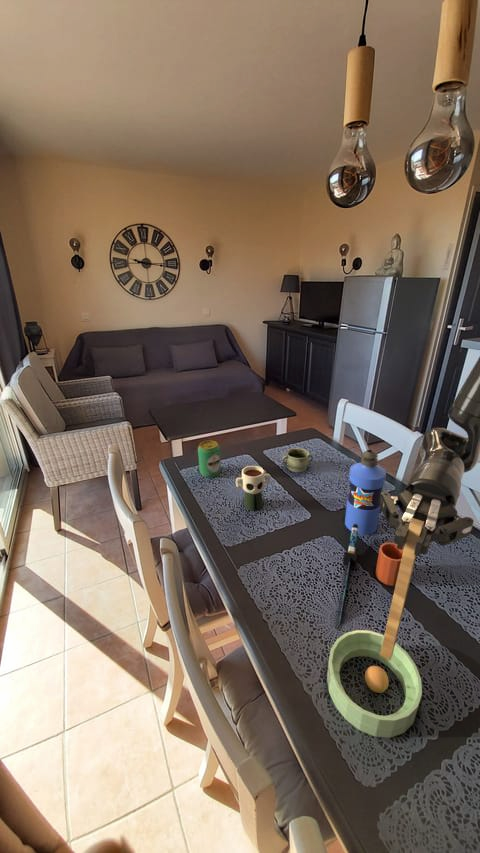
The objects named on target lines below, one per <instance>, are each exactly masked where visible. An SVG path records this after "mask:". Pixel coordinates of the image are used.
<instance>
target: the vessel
mask: <svg viewBox="0 0 480 853" xmlns="http://www.w3.org/2000/svg"><path fill="white" fill-rule="evenodd" d="M309 458H311V459H309ZM313 460H314V456H313V455H312V454H311V453H310V452H309V450H307V449H305V448H301V447H292V448H289V449H288V450H287V451H286V455H283V456H282V457H281V462H282V463H283V467H287V469H288V470H289V471H291V472H294V473H303V472H305V471H306V470H307V468H308V466H310V465H311V464H312V462H313Z"/></svg>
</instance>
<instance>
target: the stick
mask: <svg viewBox="0 0 480 853" xmlns="http://www.w3.org/2000/svg"><path fill="white" fill-rule="evenodd" d="M423 528H424V521H421V520H418V519H414V518H412V519H411V521H410V524H409V530H408V534H407V539H406V543H405V545H404V547H403V548H404V551H403V555H402V559H401V564H400V568H399V573H398V577H397V582H396V586H394V590H393V596H392V599H391V605H390V609H389V612H388V618H387V621H386V626H385V631H384V634H383V635H384V639H383V644H382V648H381V653H380V655H381V656H383V657H384V658H386V659H388V660H391V658H392V655H393V651H394V647H395V643H397V640H398V639H397V638H398V634H399V629H400V625H401V622H402V618H403V614H404V608H405V604H406V601H407V596H408V592H409V588H410V583H411V581H412V580H411V579H412V575H413V571H414V567H415V562H416V558H417V556H416V555H414V552H415V547H416V543H417V540H418V538H419V535H420V533H421V531H422V529H423Z"/></svg>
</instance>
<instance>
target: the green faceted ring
mask: <svg viewBox="0 0 480 853" xmlns="http://www.w3.org/2000/svg"><path fill="white" fill-rule="evenodd" d="M384 635H385V634H382V633H378V632H375V631H373V630H367V629H365V630H362V629H356V630H352V631H349V632H345V633H343V635H341V636H340V637H338V638H337V639H335V642H334V643H333V645H332V646H331V648H330V651H329V657H328V664H327V673H326V681H327V688H328V692H329V695H330V697H331V699H332V702H333V704H334V706H335V708H336V709H337V710H338V712H339V713H340V714H341V715H342V717H343V718H344V719H345V720H346V721H347V722H348V723H350V724H351V725H352V726H353V727H354V728H356V729H357V730H358V731H361V732H363V733H365V734H368V735H370V736H373V737H376V738H394V737H397V736H399V735H402V734H405V733H406V732H407V731H408V730H409V729H410V727H412V725H413V724H414V722H415V719H416V716H417V714H418V710H419V707H420V703H421V700H422V697H423V686H422V685H423V684H422V682H423V681H422V677H421V675H420V672H419V669H418V667H417V665H416V663H415V662H414V660H413V659H412V658H411V656H410V654H409V653H408V652H407V651H406V650H405V649H404V648H403V647H401V645H399V644H398V642H396V643H395V647H394V651H393V655H392V658H391V660H388V659H386V658H384V657H383V656H381V655H380V653H381V648H382V644H383V639H384ZM356 657H368V658H371V659H374V660H377V661H379V662H380V663H381V664H384V665H385V666H386V667H388V668H389V669H390V670H391V671H392V673H393V674H394V675H395V677H396V678H397V679H398V681H399V682H400V685H401V688H402V690H403V695H404V696H403V697H404V698H403V699H404V701H403V705H402V707H400V708H399V709H398V710H397V711H396V712H394V713H391V714H389V715H380V714H376V713H373V712H371V711H369V710H365V709H363V708H362V707H361V706H360V705H358V704H357V703H355V702H354V701H353V700H352V699H351V697H350V696H348V694H347V693H346V690H345V689H344V686H343V685H342V681H341V675H340V671H341V669H342V668H343V666H344V664H345V663H347V662H348V661H349V660H350V659H354V658H356Z"/></svg>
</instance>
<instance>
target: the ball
mask: <svg viewBox="0 0 480 853" xmlns="http://www.w3.org/2000/svg"><path fill="white" fill-rule="evenodd" d="M364 681H365V683H366V684H365V685H367V687H368V688H369V689H370V690H371V691H372V692H373V693H376V694H377V693H378V694H381V693H385V691H387V689H388V687H389V682H390V681H389V676H388V673H387V672H386V671H385V670H384V668H382V667H380V666H378V665H371V666H369V667H368V668H367V669H366V670H365V673H364Z"/></svg>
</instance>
